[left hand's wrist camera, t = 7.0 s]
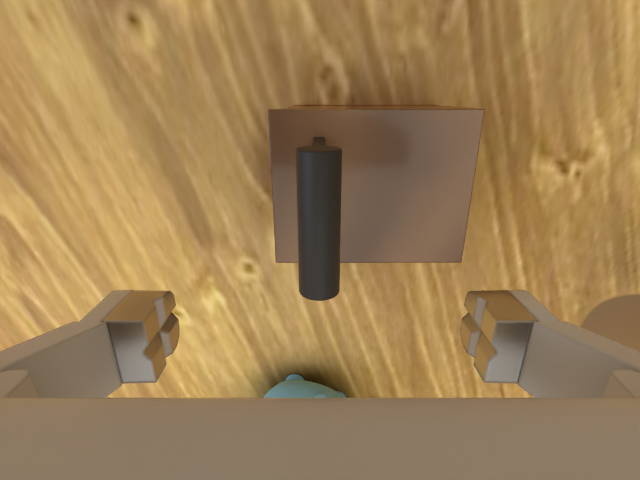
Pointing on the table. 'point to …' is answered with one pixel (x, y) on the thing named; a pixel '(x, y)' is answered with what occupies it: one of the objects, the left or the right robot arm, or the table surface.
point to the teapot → (301, 389)
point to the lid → (370, 188)
